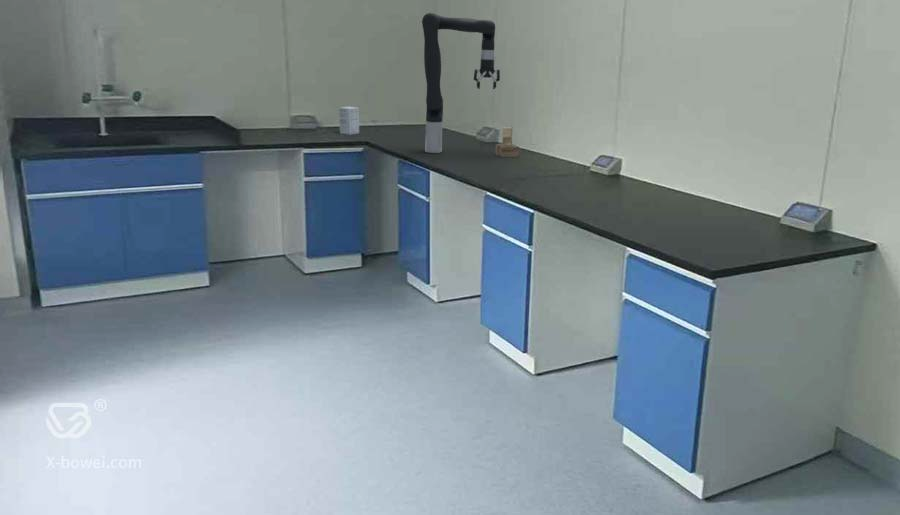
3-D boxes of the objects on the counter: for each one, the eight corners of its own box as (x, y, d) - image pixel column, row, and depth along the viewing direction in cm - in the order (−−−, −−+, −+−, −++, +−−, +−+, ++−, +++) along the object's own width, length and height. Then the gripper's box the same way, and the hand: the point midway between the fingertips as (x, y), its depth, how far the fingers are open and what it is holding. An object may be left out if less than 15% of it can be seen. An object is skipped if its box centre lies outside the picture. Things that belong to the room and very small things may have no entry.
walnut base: (518, 157, 412) (518, 146, 410) (501, 157, 409) (502, 146, 407) (511, 154, 421) (512, 143, 419) (495, 154, 418) (495, 144, 416)
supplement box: (349, 132, 490) (348, 106, 485) (359, 133, 485) (359, 107, 480) (339, 133, 483) (338, 107, 478) (349, 134, 478) (349, 108, 473)
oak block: (510, 145, 411) (510, 127, 408) (502, 145, 412) (502, 127, 409) (512, 144, 415) (512, 126, 412) (504, 144, 416) (504, 126, 413)
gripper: (498, 58, 408) (497, 88, 413) (473, 58, 406) (472, 88, 411) (501, 59, 401) (500, 89, 406) (475, 58, 399) (474, 89, 404)
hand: (486, 88), depth 408 cm, fingers open, 8 cm apart
